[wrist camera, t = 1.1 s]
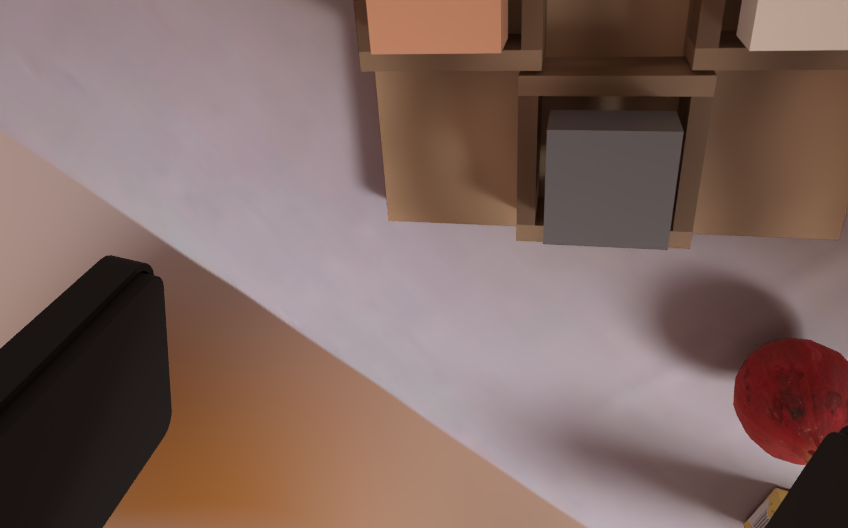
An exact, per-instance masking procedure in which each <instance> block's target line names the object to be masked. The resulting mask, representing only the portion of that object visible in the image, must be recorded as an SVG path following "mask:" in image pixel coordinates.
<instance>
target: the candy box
mask: <svg viewBox="0 0 848 528" xmlns="http://www.w3.org/2000/svg"><path fill="white" fill-rule="evenodd" d="M787 493H788V491H785V490H782V489H779V488H775V489H774V490H773V491H772V492H771V493H770V494H769V495H768V497H767V498H766V499H765V500H764V501H763V502H762V503H761V505H760V506H759V507H758V508H757V509H756V511H755V512H754V513H753V515H752V516H751V517H750V518H749V519H748V520H747V521H746V522H745V523H744V528H765V526H766V525H767V523H768V522H769V520H770V519H771V517H772V516H773V514H774V513H775V511H776V510H777V508H778V507H779V505H780V504H781V502H782V501H783V499H784V498H785V496H786V495H787Z"/></svg>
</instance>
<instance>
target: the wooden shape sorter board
mask: <svg viewBox="0 0 848 528" xmlns="http://www.w3.org/2000/svg"><path fill="white" fill-rule="evenodd" d="M741 3H742V0H508V39H507V41H506V43H505V46H504V48H503V50H502V52H501V53H477V54H371V49H370V38H369V28H368V17H367V6H366V0H354V10H355V19H356V29H357V39H358V49H359V58H360V68H361V72H374V71H375V79H376V89H377V100H378V111H379V122H380V133H381V144H382V154H383V165H384V176H385V187H386V198H387V209H388V220H389V221H409V222H432V223H456V224H479V225H502V226H517V230H516V241H536V242H543V231H544V202H545V172H546V143H547V126H548V120H549V114H550V110H629V111H677V114H678V116H679V119H680V122H681V125H682V128H683V131H684V133H683V141H682V148H681V155H680V163H679V170H678V177H677V184H676V192H675V199H674V206H673V213H672V221H671V228H670V235H669V242H668V248H684V249H690V245H691V239H692V234H713V235H736V236H760V237H783V238H806V239H830V240H839V238H840V234H841V231H842V227H843V223H844V220H845V216H846V213H847V209H848V50H808V51H749V50H748V49H747V48H746V46H745V45H744V44H743V43H742V42H741V40H740V39H739V38H738V37H737V36H736V34H737V28H738V22H739V16H740V9H741Z"/></svg>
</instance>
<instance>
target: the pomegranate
mask: <svg viewBox="0 0 848 528" xmlns="http://www.w3.org/2000/svg"><path fill="white" fill-rule="evenodd" d="M733 405H734V408H735V411H736V414H737V416H738V418H739V420H740V422H741V424H742V426H743V428H744V430H745V431H746V433H747V434H748V435H749V437H750V438H751V439H752V440H753V441H754V442H755V443H756V444H758V445H759V446H760V447H761V448H762V449H763V450H764V451H766V452H767V453H768V454H770V455H771V456H773V457H775V458H778V459H781V460H784V461H788V462H791V463H794V464H799V465H807V463H808V462H809V460H810V459H811V457H812V456H813V454H814V453H815V451H816V450H817V448H818V447H819V445H820V443H821V442H822V440H823V439H824V438H825V437H826V435H827V434H829V433H831V432H839V431H840V430H841V429H842V428H843V427H845V426H847V425H848V361H847V360H846V359H845V358H844V357H843V356H842V355H841V354H840V353H839V352H836V351H834V350H832V349H830V348H827V347H825V346H823V345H821V344H818V343H816V342H814V341H812V340H806V339H795V338H785V339H781V340H777V341H773V342H769V343H766V344H764V345H763V346H761V347H760V348H759V349H757V350H756V351H754V352H753V353H752V354H750V355H749V356H748V358H747V359H746V360H745V362H744V363H743V365H742V367H741V369H740V370H739V372H738V374H737V376H736V379H735V388H734V403H733Z"/></svg>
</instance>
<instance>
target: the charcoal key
mask: <svg viewBox="0 0 848 528" xmlns="http://www.w3.org/2000/svg"><path fill="white" fill-rule="evenodd" d="M683 133H684V131H683V128H682V125H681V122H680V119H679V116H678V114H677V111H629V110H550V114H549V120H548V126H547V143H546V172H545V202H544V231H543V244H555V245H576V246H597V247H618V248H639V249H660V250H668V242H669V235H670V228H671V221H672V213H673V206H674V199H675V192H676V184H677V177H678V170H679V163H680V155H681V148H682V141H683Z"/></svg>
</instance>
